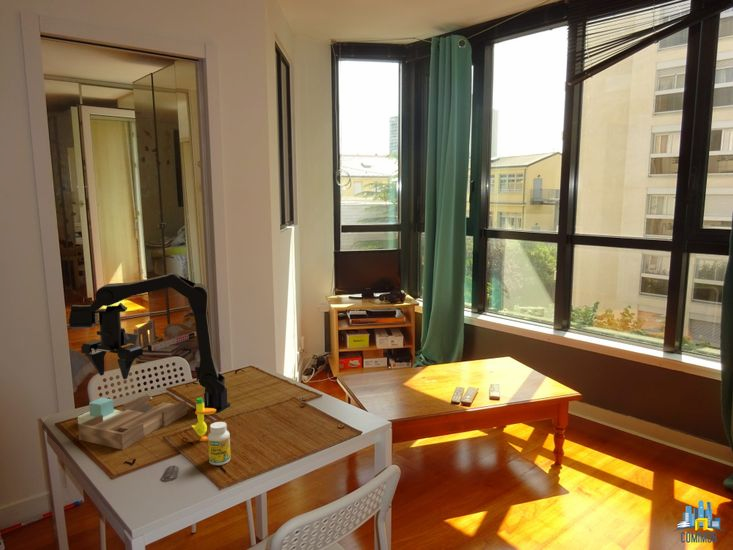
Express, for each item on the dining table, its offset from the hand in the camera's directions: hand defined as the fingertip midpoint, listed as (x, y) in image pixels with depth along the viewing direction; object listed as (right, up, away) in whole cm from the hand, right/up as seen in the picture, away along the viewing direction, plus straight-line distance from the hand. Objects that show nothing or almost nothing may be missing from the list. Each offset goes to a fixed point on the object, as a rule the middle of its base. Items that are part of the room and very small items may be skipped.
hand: (113, 377), depth 157 cm
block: (-2, -11, -2) cm, 11 cm away
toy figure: (+32, -15, -13) cm, 37 cm away
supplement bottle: (+39, -17, -24) cm, 49 cm away
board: (-3, -13, -2) cm, 13 cm away
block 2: (+29, -18, -31) cm, 46 cm away
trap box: (+9, -13, -5) cm, 17 cm away
